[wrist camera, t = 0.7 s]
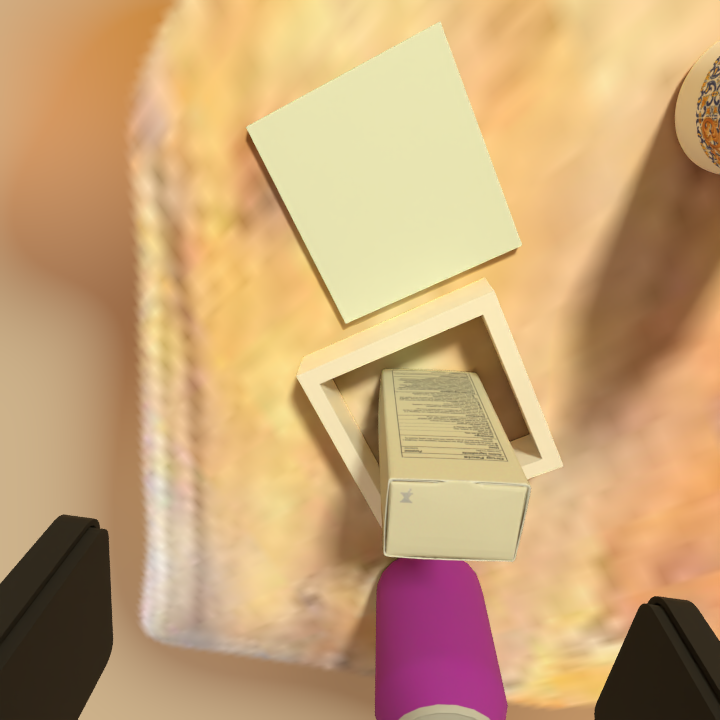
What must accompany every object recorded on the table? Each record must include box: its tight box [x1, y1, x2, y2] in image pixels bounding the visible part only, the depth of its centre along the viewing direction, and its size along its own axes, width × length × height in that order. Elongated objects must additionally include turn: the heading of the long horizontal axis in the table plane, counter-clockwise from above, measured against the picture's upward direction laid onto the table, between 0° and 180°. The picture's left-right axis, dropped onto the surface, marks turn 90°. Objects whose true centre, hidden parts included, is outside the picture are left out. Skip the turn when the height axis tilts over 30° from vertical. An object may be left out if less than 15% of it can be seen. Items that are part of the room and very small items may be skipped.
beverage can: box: [375, 558, 508, 720], centre depth 35 cm, size 8×8×12 cm
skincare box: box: [378, 369, 531, 562], centre depth 29 cm, size 6×4×12 cm
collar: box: [296, 277, 564, 528], centre depth 34 cm, size 12×12×3 cm
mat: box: [246, 22, 522, 323], centre depth 30 cm, size 12×11×1 cm
